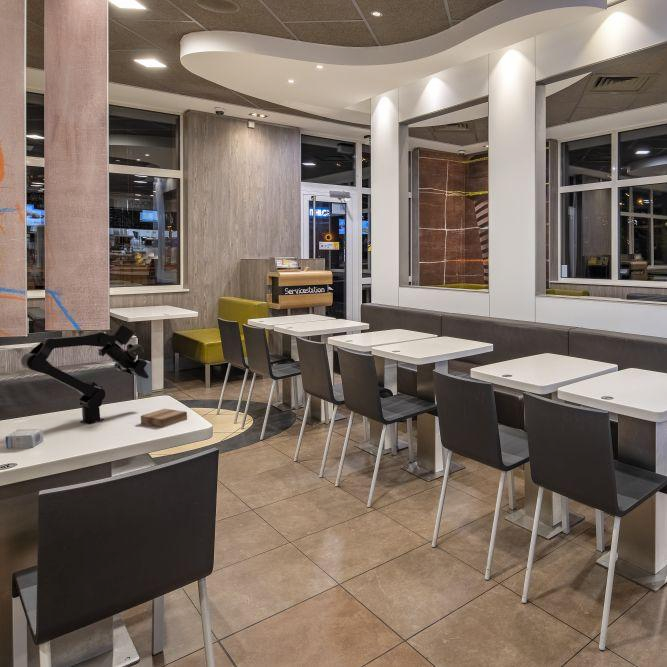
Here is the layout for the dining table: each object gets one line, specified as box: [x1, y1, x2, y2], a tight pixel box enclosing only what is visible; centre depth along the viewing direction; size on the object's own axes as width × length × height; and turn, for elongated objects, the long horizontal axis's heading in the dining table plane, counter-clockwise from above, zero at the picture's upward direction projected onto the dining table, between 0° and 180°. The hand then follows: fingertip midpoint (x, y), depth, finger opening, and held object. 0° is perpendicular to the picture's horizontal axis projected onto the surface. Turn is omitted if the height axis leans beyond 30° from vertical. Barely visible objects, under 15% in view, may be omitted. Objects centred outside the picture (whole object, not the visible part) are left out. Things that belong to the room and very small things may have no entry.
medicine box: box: [5, 428, 44, 450], centre depth 187 cm, size 8×4×9 cm
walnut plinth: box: [140, 408, 188, 428], centre depth 212 cm, size 12×12×3 cm
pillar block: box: [135, 359, 153, 395], centre depth 230 cm, size 4×4×13 cm
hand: (144, 377), depth 230 cm, fingers closed on pillar block, 5 cm apart
